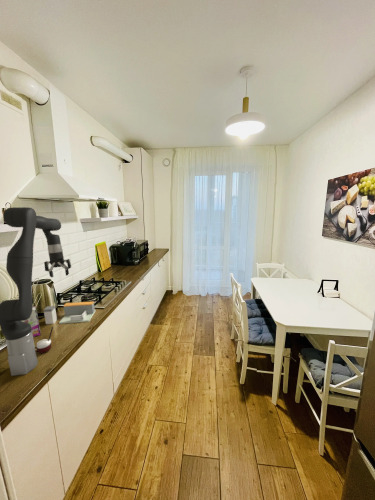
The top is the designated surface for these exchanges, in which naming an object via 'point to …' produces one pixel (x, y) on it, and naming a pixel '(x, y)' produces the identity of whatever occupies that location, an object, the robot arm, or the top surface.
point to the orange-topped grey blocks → (78, 312)
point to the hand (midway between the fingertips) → (59, 276)
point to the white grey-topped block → (50, 314)
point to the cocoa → (44, 344)
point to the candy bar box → (34, 322)
